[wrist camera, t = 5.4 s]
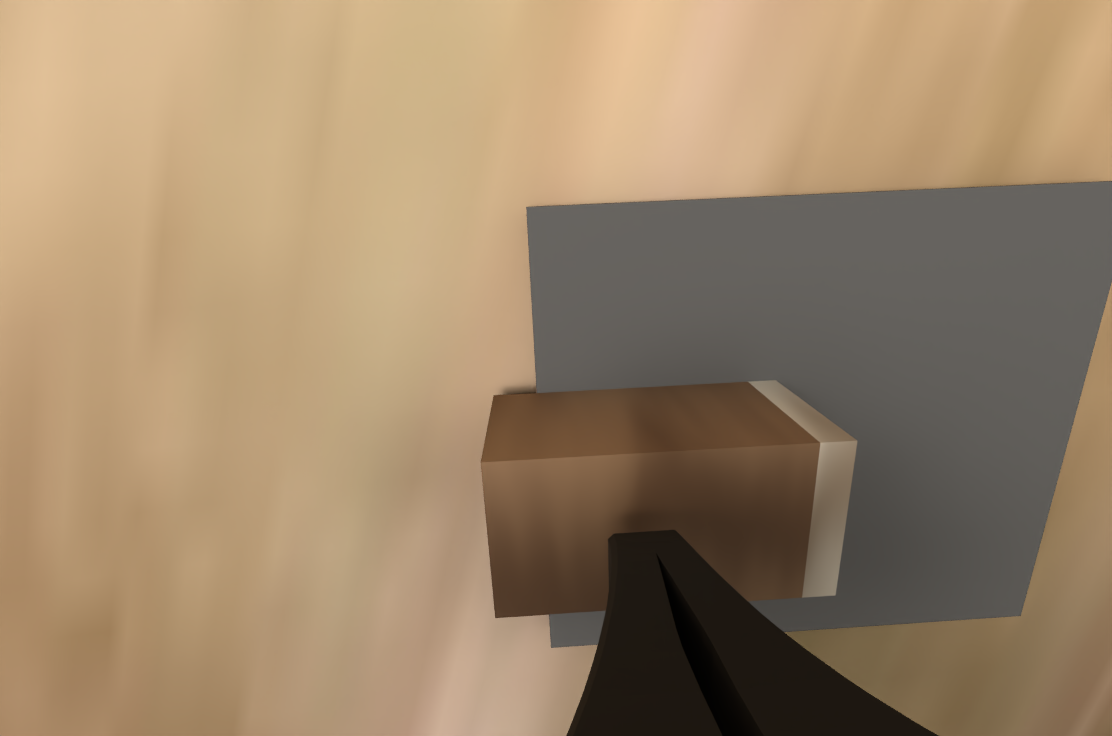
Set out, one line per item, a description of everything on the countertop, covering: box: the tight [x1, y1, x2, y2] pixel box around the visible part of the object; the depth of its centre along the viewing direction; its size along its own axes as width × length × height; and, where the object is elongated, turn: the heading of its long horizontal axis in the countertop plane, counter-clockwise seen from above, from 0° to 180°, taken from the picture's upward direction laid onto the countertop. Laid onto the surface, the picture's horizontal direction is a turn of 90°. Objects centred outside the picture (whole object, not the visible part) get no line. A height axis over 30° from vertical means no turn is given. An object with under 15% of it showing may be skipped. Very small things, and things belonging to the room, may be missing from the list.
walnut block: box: [481, 380, 857, 618], centre depth 14 cm, size 4×4×8 cm
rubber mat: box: [526, 181, 1112, 648], centre depth 16 cm, size 14×16×1 cm
